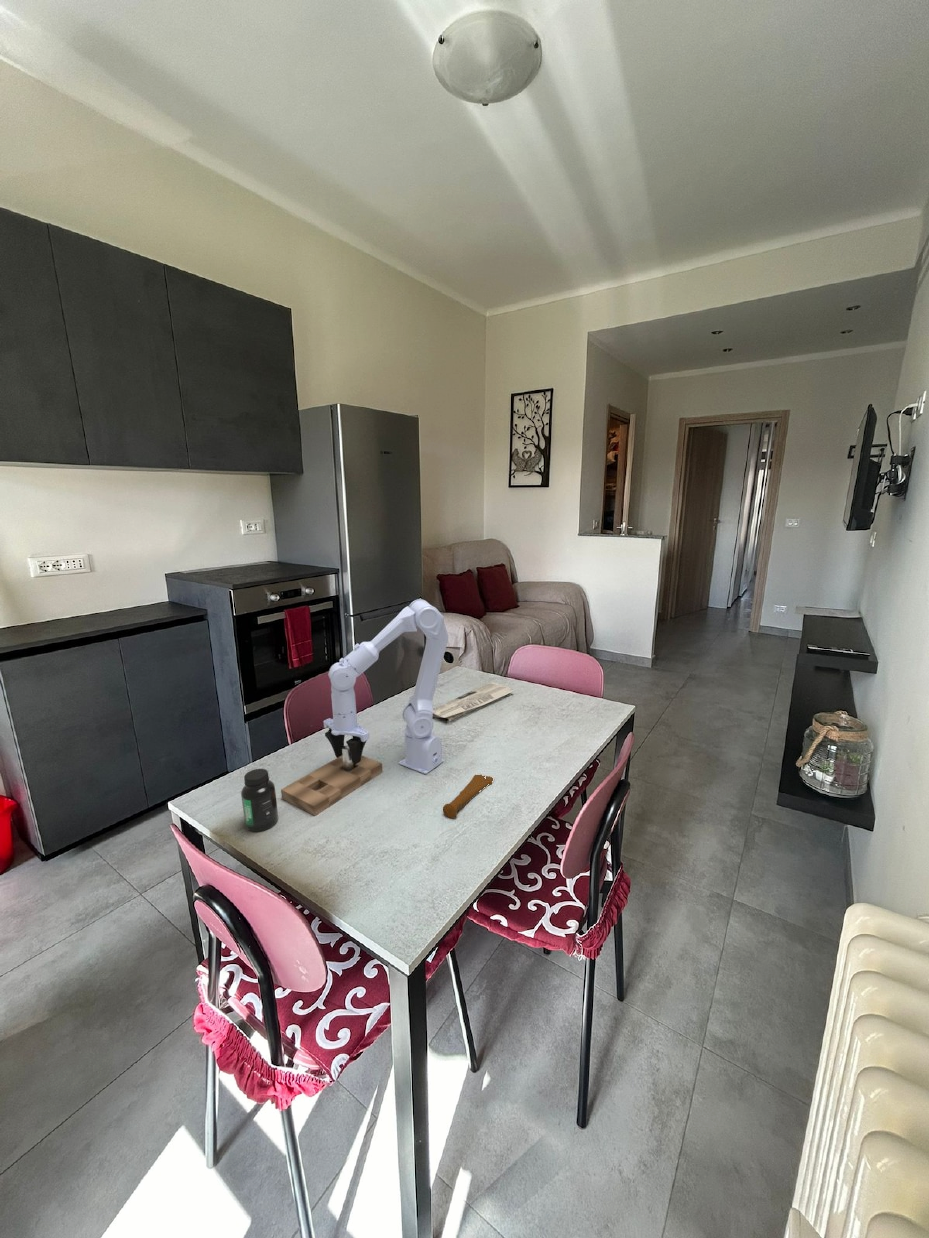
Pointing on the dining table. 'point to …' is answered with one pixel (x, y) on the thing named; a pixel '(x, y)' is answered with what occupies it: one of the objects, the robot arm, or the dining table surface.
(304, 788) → the tool stand
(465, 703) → the newspaper
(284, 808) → the dining table surface
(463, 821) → the dining table surface
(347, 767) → the steel peg
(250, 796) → the supplement bottle
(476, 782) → the primitive tool
